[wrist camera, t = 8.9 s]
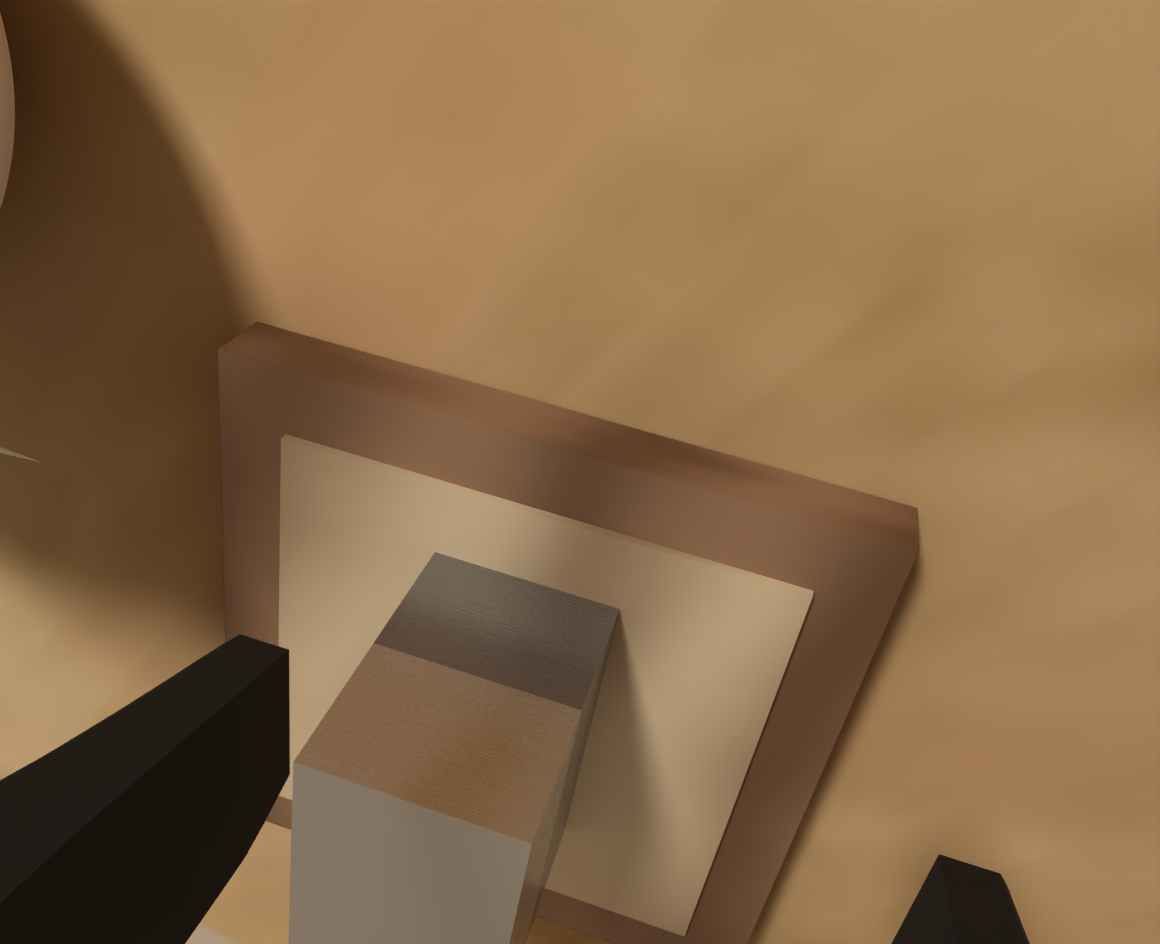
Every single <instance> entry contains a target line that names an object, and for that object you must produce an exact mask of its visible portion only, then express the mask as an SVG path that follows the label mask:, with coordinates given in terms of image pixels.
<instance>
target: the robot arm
mask: <svg viewBox="0 0 1160 944" xmlns="http://www.w3.org/2000/svg"><path fill="white" fill-rule="evenodd" d="M289 775H290V698H289V649H286V648H282V647H279V646H276V645H273V644H270V643H266V642H263V641H260V640H257V639H254V638H251V637H247V636H244V635H241V634H239V635H238V636H236V637H234V638H232V639H230V640H229V641H227V642H225V643H224V644H222V645H221V646H219V647H217V648H216V649H214V650H213V651H211V652H210V653H208V654H206V655H205V656H203V657H202V658H200V659H199V660H197V661H196V662H194V663H192V664H191V665H189V666H188V667H186V668H185V669H183V670H182V671H180V672H178V673H177V674H175V675H174V676H172V677H171V678H169V679H168V680H166V681H165V682H163V683H161V684H160V685H158V686H157V687H155V688H154V689H152V690H150V691H149V692H147V693H146V694H144V695H143V696H141V697H139V698H138V699H136V700H135V701H133V702H131V703H130V704H128V705H127V706H125V707H124V708H122V709H120V710H119V711H117V712H116V713H114V714H112V715H111V716H109V717H107V718H106V719H104V720H102V721H101V722H99V723H97V724H96V725H94V726H93V727H91V728H89V729H88V730H86V731H84V732H83V733H81V734H79V735H78V736H76V737H74V738H73V739H71V740H70V741H68V742H66V743H65V744H63V745H61V746H60V747H58V748H56V749H55V750H53V751H51V752H50V753H48V754H46V755H44V756H43V757H41V758H39V759H38V760H36V761H34V762H32V763H30V764H29V765H27V766H25V767H23V768H21V769H20V770H18V771H16V772H14V773H13V774H11V775H9V776H7V777H5V778H4V779H2V780H0V944H185V943H186V941H187V940H188V939H189V937H190V936H191V934H192V933H193V931H194V930H195V929H196V927H197V926H198V924H199V923H200V922H201V920H202V919H203V917H204V916H205V914H206V913H207V912H208V910H209V909H210V907H211V906H212V904H213V903H214V901H215V900H216V899H217V897H218V896H219V894H220V893H221V891H222V890H223V888H224V887H225V886H226V884H227V883H228V881H229V880H230V878H231V877H232V876H233V874H234V873H235V871H236V870H237V868H238V867H239V865H240V864H241V862H242V861H243V859H244V858H245V856H246V855H247V853H248V851H249V849H250V847H251V846H252V844H253V842H254V840H255V838H256V837H257V835H258V833H259V831H260V829H261V828H262V826H263V824H264V822H265V821H266V819H267V817H268V815H269V813H270V811H271V809H272V807H273V805H274V803H275V802H276V800H277V798H278V796H279V794H280V792H281V790H282V788H283V786H284V784H285V783H286V781H287V779H288V777H289ZM892 944H1029V941H1028V939H1027V936H1026V933H1025V931H1024V928H1023V926H1022V923H1021V921H1020V918H1019V915H1018V913H1017V910H1016V908H1015V905H1014V903H1013V900H1012V897H1011V895H1010V892H1009V889H1008V887H1007V884H1006V883H1005V881H1004V879H1003V878H1002V876H1001V874H1000V873H996V872H993V871H990V870H987V869H984V868H981V867H977V866H974V865H971V864H968V863H965V862H962V861H958V860H955V859H952V858H949V857H946V856H943V855H938V857H937V859H936V861H935V863H934V865H933V867H932V869H931V870H930V872H929V874H928V876H927V878H926V880H925V882H924V884H923V885H922V887H921V889H920V891H919V893H918V895H917V897H916V899H915V901H914V902H913V904H912V906H911V908H910V910H909V912H908V914H907V916H906V918H905V919H904V921H903V923H902V925H901V927H900V929H899V931H898V933H897V935H896V936H895V938H894V940H893V942H892Z"/></svg>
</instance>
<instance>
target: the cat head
mask: <svg viewBox="0 0 1160 944" xmlns="http://www.w3.org/2000/svg"><path fill="white" fill-rule="evenodd" d="M14 131H15V97H14V83H13V74H12V66H11V59H10V53H9V47H8V42H7V38H6V33H5V29H4V25H3V21H2V17H1V13H0V208H1V205H2V202H3V198H4V195H5V191H6V187H7V183H8V178H9V173H10V167H11V161H12V154H13V145H14ZM0 453H2V454H7V455H11V456H15V457H20V458H24V459H29V460H33V461H37V460H35V459H32V458H30V457H27V456H25V455H22V454H20V453H17V452H15V451H12V450H10V449H7V448H5V447H2V446H0ZM37 462H40V461H37Z"/></svg>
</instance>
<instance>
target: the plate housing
mask: <svg viewBox="0 0 1160 944" xmlns="http://www.w3.org/2000/svg"><path fill="white" fill-rule="evenodd" d="M618 614H619V609H618V608H615V607H612V606H609V605H605V604H602V603H599V602H596V601H592V600H589V599H586V598H583V597H579V596H576V595H573V594H570V593H566V592H563V591H560V590H557V589H553V588H550V587H547V586H544V585H540V584H537V583H534V582H531V581H528V580H524V579H521V578H518V577H515V576H511V575H508V574H505V573H502V572H498V571H495V570H492V569H489V568H485V567H482V566H479V565H476V564H472V563H469V562H466V561H463V560H459V559H456V558H453V557H450V556H446V555H443V554H440V553H437V552H435V553H434V554H433V556H432V557H431V559H430V560H429V562H428V563H427V565H426V566H425V567H424V569H423V570H422V572H421V573H420V575H419V576H418V578H417V579H416V581H415V582H414V584H413V585H412V587H411V588H410V590H409V591H408V593H407V594H406V596H405V597H404V599H403V600H402V602H401V603H400V605H399V606H398V607H397V609H396V610H395V612H394V613H393V615H392V616H391V618H390V619H389V621H388V622H387V624H386V625H385V627H384V628H383V630H382V631H381V633H380V634H379V636H378V637H377V639H376V640H375V642H374V643H373V645H372V646H371V648H370V649H369V650H368V652H367V653H366V655H365V656H364V658H363V659H362V661H361V662H360V664H359V665H358V667H357V668H356V670H355V671H354V673H353V674H352V676H351V677H350V679H349V680H348V682H347V683H346V685H345V686H344V688H343V689H342V690H341V692H340V693H339V695H338V696H337V698H336V699H335V701H334V702H333V704H332V705H331V707H330V708H329V710H328V711H327V713H326V714H325V716H324V717H323V719H322V720H321V722H320V723H319V725H318V726H317V728H316V729H315V731H314V732H313V733H312V735H311V736H310V738H309V739H308V741H307V742H306V744H305V745H304V747H303V748H302V750H301V751H300V753H299V754H298V756H297V757H296V759H295V760H294V762H293V792H292V832H291V872H290V911H289V944H525V943H526V940H527V938H528V935H529V932H530V929H531V926H532V923H533V920H534V917H535V914H536V911H537V909H538V906H539V903H540V900H541V897H542V894H543V891H544V888H545V885H546V882H547V880H548V877H549V874H550V871H551V868H552V865H553V862H554V859H555V856H556V853H557V851H558V848H559V845H560V842H561V839H562V836H563V833H564V830H565V826H566V822H567V818H568V814H569V810H570V806H571V802H572V798H573V794H574V790H575V786H576V782H577V778H578V774H579V770H580V766H581V762H582V758H583V754H584V750H585V746H586V742H587V738H588V734H589V730H590V726H591V722H592V718H593V714H594V710H595V706H596V702H597V698H598V694H599V690H600V686H601V682H602V678H603V674H604V670H605V666H606V662H607V658H608V654H609V650H610V646H611V642H612V638H613V634H614V630H615V626H616V622H617V618H618Z"/></svg>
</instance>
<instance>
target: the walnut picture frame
mask: <svg viewBox="0 0 1160 944" xmlns="http://www.w3.org/2000/svg"><path fill="white" fill-rule="evenodd" d="M218 381H219V419H220V456H221V494H222V532H223V569H224V607H225V642H227V641H229V640H230V639H232V638H234V637H236V636H238V635H239V634H241V635H244V636H247V637H251V638H254V639H257V640H260V641H263V642H266V643H270V644H273V645H276V646H279V647H282V648H286V649H289V698H290V775H289V777H288V779H287V781H286V783H285V784H284V786H283V788H282V790H281V792H280V794H279V796H278V798H277V800H276V802H275V803H274V805H273V807H272V809H271V811H270V813H269V815H268V817H267V819H266V821H268V822H271V823H273V824H276V825H279V826H282V827H285V828H288V829H291V830H292V792H293V762H294V760H295V759H296V757H297V756H298V754H299V753H300V751H301V750H302V748H303V747H304V745H305V744H306V742H307V741H308V739H309V738H310V736H311V735H312V733H313V732H314V731H315V729H316V728H317V726H318V725H319V723H320V722H321V720H322V719H323V717H324V716H325V714H326V713H327V711H328V710H329V708H330V707H331V705H332V704H333V702H334V701H335V699H336V698H337V696H338V695H339V693H340V692H341V690H342V689H343V688H344V686H345V685H346V683H347V682H348V680H349V679H350V677H351V676H352V674H353V673H354V671H355V670H356V668H357V667H358V665H359V664H360V662H361V661H362V659H363V658H364V656H365V655H366V653H367V652H368V650H369V649H370V648H371V646H372V645H373V643H374V642H375V640H376V639H377V637H378V636H379V634H380V633H381V631H382V630H383V628H384V627H385V625H386V624H387V622H388V621H389V619H390V618H391V616H392V615H393V613H394V612H395V610H396V609H397V607H398V606H399V605H400V603H401V602H402V600H403V599H404V597H405V596H406V594H407V593H408V591H409V590H410V588H411V587H412V585H413V584H414V582H415V581H416V579H417V578H418V576H419V575H420V573H421V572H422V570H423V569H424V567H425V566H426V565H427V563H428V562H429V560H430V559H431V557H432V556H433V554H434V553H435V552H437V553H440V554H443V555H446V556H450V557H453V558H456V559H459V560H463V561H466V562H469V563H472V564H476V565H479V566H482V567H485V568H489V569H492V570H495V571H498V572H502V573H505V574H508V575H511V576H515V577H518V578H521V579H524V580H528V581H531V582H534V583H537V584H540V585H544V586H547V587H550V588H553V589H557V590H560V591H563V592H566V593H570V594H573V595H576V596H579V597H583V598H586V599H589V600H592V601H596V602H599V603H602V604H605V605H609V606H612V607H615V608H618V609H619V614H618V618H617V622H616V626H615V630H614V634H613V638H612V642H611V646H610V650H609V654H608V658H607V662H606V666H605V670H604V674H603V678H602V682H601V686H600V690H599V694H598V698H597V702H596V706H595V710H594V714H593V718H592V722H591V726H590V730H589V734H588V738H587V742H586V746H585V750H584V754H583V758H582V762H581V766H580V770H579V774H578V778H577V782H576V786H575V790H574V794H573V798H572V802H571V806H570V810H569V814H568V818H567V822H566V826H565V830H564V833H563V836H562V839H561V842H560V845H559V848H558V851H557V853H556V856H555V859H554V862H553V865H552V868H551V871H550V874H549V877H548V880H547V882H546V885H545V888H544V891H543V894H542V897H541V900H540V903H539V906H538V909H537V911H536V914H535V916H538V917H541V918H544V919H546V920H549V921H552V922H555V923H558V924H561V925H563V926H566V927H569V928H572V929H575V930H578V931H581V932H583V933H586V934H589V935H592V936H595V937H598V938H600V939H603V940H606V941H609V942H612V943H615V944H747V943H748V941H749V939H750V936H751V934H752V932H753V929H754V927H755V925H756V923H757V920H758V918H759V916H760V913H761V911H762V909H763V907H764V904H765V902H766V900H767V897H768V895H769V893H770V891H771V888H772V886H773V884H774V881H775V879H776V877H777V875H778V872H779V870H780V868H781V865H782V863H783V861H784V859H785V856H786V854H787V852H788V849H789V847H790V845H791V843H792V840H793V838H794V836H795V833H796V831H797V829H798V826H799V824H800V822H801V820H802V817H803V815H804V813H805V810H806V808H807V806H808V804H809V801H810V799H811V797H812V794H813V792H814V790H815V788H816V785H817V783H818V781H819V778H820V776H821V774H822V772H823V769H824V767H825V765H826V762H827V760H828V758H829V756H830V753H831V751H832V749H833V746H834V744H835V742H836V740H837V737H838V735H839V733H840V730H841V728H842V726H843V724H844V721H845V719H846V717H847V714H848V712H849V710H850V708H851V705H852V703H853V701H854V698H855V696H856V694H857V692H858V689H859V687H860V685H861V682H862V680H863V678H864V676H865V673H866V671H867V669H868V666H869V664H870V662H871V660H872V657H873V655H874V653H875V650H876V648H877V646H878V644H879V641H880V639H881V637H882V634H883V632H884V630H885V628H886V625H887V623H888V621H889V618H890V616H891V614H892V612H893V609H894V607H895V605H896V602H897V600H898V598H899V596H900V593H901V591H902V589H903V586H904V584H905V582H906V580H907V577H908V575H909V573H910V570H911V568H912V566H913V564H914V561H915V559H916V557H917V554H918V552H919V544H918V513H917V508H914V507H910V506H907V505H903V504H900V503H896V502H893V501H889V500H886V499H882V498H879V497H875V496H872V495H868V494H864V493H861V492H857V491H854V490H850V489H847V488H843V487H840V486H836V485H833V484H829V483H825V482H822V481H818V480H815V479H811V478H808V477H804V476H801V475H797V474H794V473H790V472H787V471H783V470H779V469H776V468H772V467H769V466H765V465H762V464H758V463H755V462H751V461H748V460H744V459H740V458H737V457H733V456H730V455H726V454H723V453H719V452H716V451H712V450H709V449H705V448H702V447H698V446H694V445H691V444H687V443H684V442H680V441H677V440H673V439H670V438H666V437H663V436H659V435H655V434H652V433H648V432H645V431H641V430H638V429H634V428H631V427H627V426H624V425H620V424H617V423H613V422H609V421H606V420H602V419H599V418H595V417H592V416H588V415H585V414H581V413H578V412H574V411H570V410H567V409H563V408H560V407H556V406H553V405H549V404H546V403H542V402H539V401H535V400H531V399H528V398H524V397H521V396H517V395H514V394H510V393H507V392H503V391H500V390H496V389H493V388H489V387H485V386H482V385H478V384H475V383H471V382H468V381H464V380H461V379H457V378H454V377H450V376H446V375H443V374H439V373H436V372H432V371H429V370H425V369H422V368H418V367H415V366H411V365H408V364H404V363H400V362H397V361H393V360H390V359H386V358H383V357H379V356H376V355H372V354H369V353H365V352H361V351H358V350H354V349H351V348H347V347H344V346H340V345H337V344H333V343H330V342H326V341H323V340H319V339H315V338H312V337H308V336H305V335H301V334H298V333H294V332H291V331H287V330H284V329H280V328H276V327H273V326H269V325H266V324H262V323H259V322H256V323H255V324H253V325H252V326H250V327H249V328H248V329H246V330H245V331H243V332H242V333H241V334H239V335H238V336H236V337H235V338H234V339H232V340H231V341H229V342H228V343H226V344H225V345H224V346H222V347H221V348H219V349H218Z"/></svg>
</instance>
